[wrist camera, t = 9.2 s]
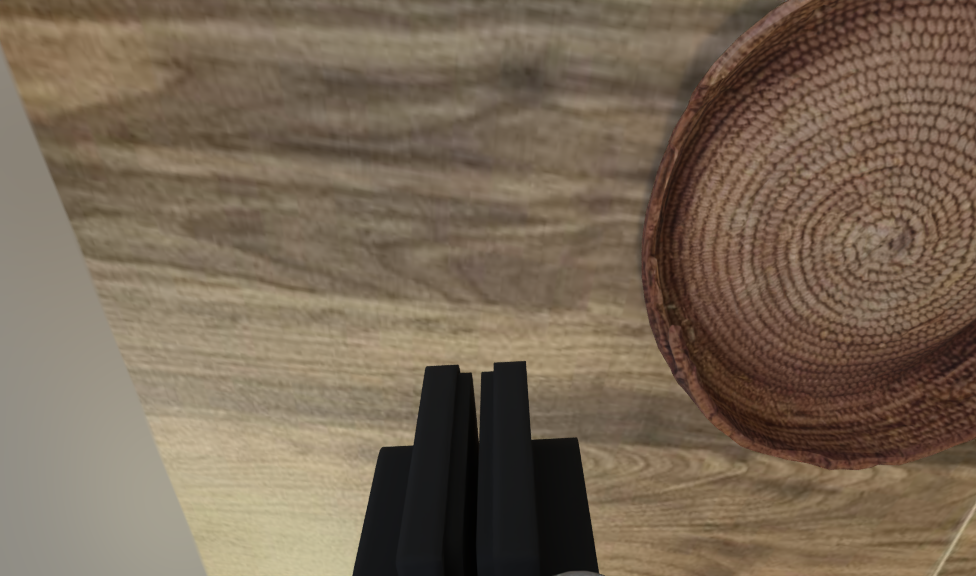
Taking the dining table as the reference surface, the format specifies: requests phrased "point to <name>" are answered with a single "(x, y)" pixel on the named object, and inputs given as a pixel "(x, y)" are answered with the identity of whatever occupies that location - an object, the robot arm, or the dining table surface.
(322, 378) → the dining table surface
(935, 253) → the basket
